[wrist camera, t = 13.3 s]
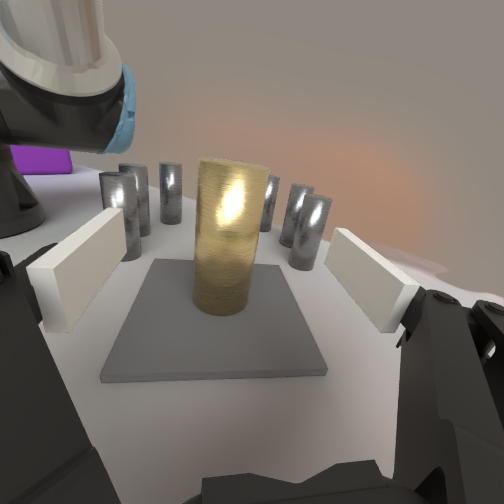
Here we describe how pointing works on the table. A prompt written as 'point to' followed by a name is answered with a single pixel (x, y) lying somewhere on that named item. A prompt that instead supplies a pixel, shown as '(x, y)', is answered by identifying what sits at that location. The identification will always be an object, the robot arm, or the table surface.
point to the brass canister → (226, 233)
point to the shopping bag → (41, 160)
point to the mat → (211, 332)
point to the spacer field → (138, 217)
